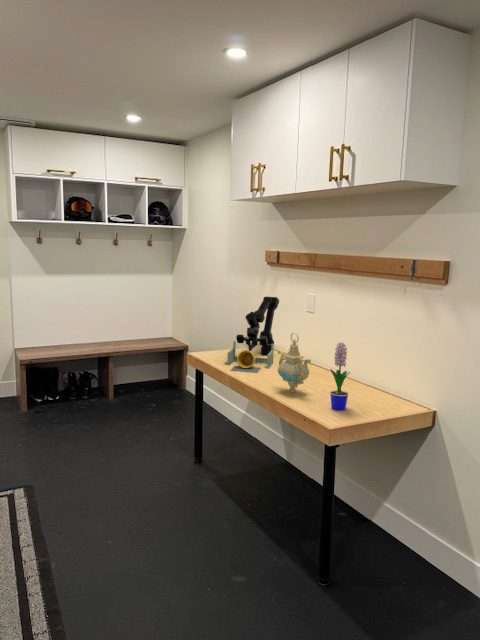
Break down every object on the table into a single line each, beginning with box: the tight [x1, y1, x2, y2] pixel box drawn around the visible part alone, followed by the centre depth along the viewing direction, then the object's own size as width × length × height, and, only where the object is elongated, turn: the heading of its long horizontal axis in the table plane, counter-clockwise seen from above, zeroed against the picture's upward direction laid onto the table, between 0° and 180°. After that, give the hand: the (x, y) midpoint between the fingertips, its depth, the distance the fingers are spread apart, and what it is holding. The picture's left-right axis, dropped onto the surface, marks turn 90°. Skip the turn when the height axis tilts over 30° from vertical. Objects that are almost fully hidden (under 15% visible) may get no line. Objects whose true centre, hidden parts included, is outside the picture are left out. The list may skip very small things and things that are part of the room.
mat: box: [230, 365, 262, 374], centre depth 289 cm, size 12×16×1 cm
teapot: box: [277, 332, 312, 393], centre depth 244 cm, size 24×12×30 cm, turn 32°
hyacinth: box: [329, 342, 351, 411], centre depth 220 cm, size 9×10×30 cm
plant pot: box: [236, 350, 256, 368], centre depth 293 cm, size 10×10×10 cm
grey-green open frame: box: [227, 340, 275, 369], centre depth 302 cm, size 15×25×12 cm, turn 77°
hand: (249, 351), depth 298 cm, fingers closed
